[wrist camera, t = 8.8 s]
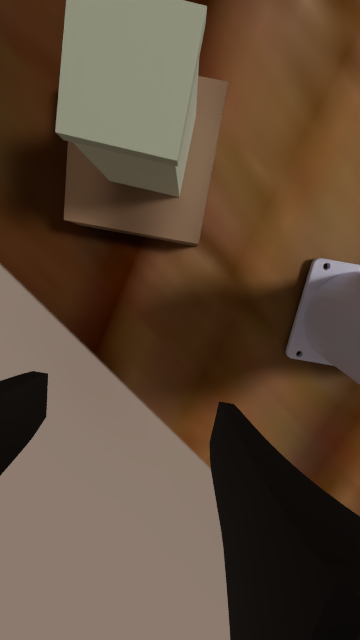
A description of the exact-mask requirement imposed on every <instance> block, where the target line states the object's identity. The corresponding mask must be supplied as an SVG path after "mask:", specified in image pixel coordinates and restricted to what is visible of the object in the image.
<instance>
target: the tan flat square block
mask: <svg viewBox="0 0 360 640" xmlns="http://www.w3.org/2000/svg"><path fill="white" fill-rule="evenodd" d="M227 87H228V82H227V81H222V80H216V79H211V78H206V77H200V76H198V86H197V105H196V118H195V123H194V128H193V133H192V138H191V143H190V147H189V152H188V157H187V162H186V167H185V172H184V177H183V182H182V187H181V192H180V197H176V196H172V195H168V194H164V193H159V192H155V191H151V190H146V189H142V188H138V187H133V186H129V185H125V184H120V183H116V182H112V181H109V180H108V179H107V178H106V177H105V176H104V175H103V174H102V172H101V171H100V170H99V169H98V168H97V167H96V166H95V165H94V164H93V163H92V162H91V161H90V160H89V159H88V158H87V157H86V156H85V155H84V154H83V153H82V152H81V151H80V149H79V148H78V147H77V146H76V145H75V144H74V143H73V142H70V141H68V150H67V169H66V187H65V205H64V220H66V221H69V222H72V223H75V224H78V225H81V226H87V227H92V228H98V229H103V230H109V231H114V232H120V233H126V234H131V235H137V236H142V237H148V238H153V239H159V240H164V241H170V242H175V243H181V244H186V245H192V246H198V244H199V239H200V233H201V228H202V222H203V217H204V212H205V206H206V201H207V195H208V190H209V184H210V179H211V174H212V168H213V163H214V157H215V152H216V147H217V141H218V136H219V130H220V125H221V119H222V114H223V109H224V103H225V98H226V92H227Z"/></svg>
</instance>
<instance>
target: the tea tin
mask: <svg viewBox="0 0 360 640" xmlns="http://www.w3.org/2000/svg"><path fill="white" fill-rule="evenodd" d="M206 13H207V6H204V5H200V4H196V3H192V2H188V1H184V0H66V11H65V22H64V34H63V46H62V58H61V70H60V82H59V94H58V106H57V117H56V129H55V132H56V133H57V134H58V135H59V136H60V137H61V138H62V139H63V140H66V141H70V142H73V143H74V144H75V145H76V146H77V147H78V148H79V149H80V151H81V152H82V153H83V154H84V155H85V156H86V157H87V158H88V159H89V160H90V161H91V162H92V163H93V164H94V165H95V166H96V167H97V168H98V169H99V170H100V171H101V172H102V174H103V175H104V176H105V177H106V178H107V179H108V180H109V181H112V182H116V183H120V184H125V185H129V186H133V187H138V188H142V189H146V190H151V191H155V192H159V193H164V194H168V195H172V196H176V197H180V192H181V187H182V182H183V177H184V172H185V167H186V162H187V157H188V152H189V147H190V143H191V138H192V133H193V128H194V123H195V118H196V105H197V86H198V68H199V55H200V50H201V45H202V40H203V34H204V29H205V24H206Z"/></svg>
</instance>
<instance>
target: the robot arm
mask: <svg viewBox="0 0 360 640" xmlns="http://www.w3.org/2000/svg"><path fill="white" fill-rule="evenodd" d="M325 263H327V268H326V269H324V268H323V265H324V264H325ZM298 351H301V353H300V354H299V355H296V353H297V352H298ZM285 353H286V355H287V356H288V357H289V358H292V359H298V360H303V361H309V362H315V363H321V364H326V365H332V366H335V367H336V368H338V369H339V370H341V371H342V372H343V373H345V374H346V375H348V376H349V377H350V378H352V379H353V380H354V381H356V382H357V383H359V384H360V265H357V264H352V263H346V262H340V261H334V260H329V259H323V258H317V259H314V260H313V261H312V263H311V266H310V269H309V273H308V276H307V280H306V283H305V286H304V290H303V293H302V297H301V300H300V303H299V307H298V310H297V313H296V317H295V320H294V324H293V327H292V330H291V334H290V337H289V341H288V344H287V347H286V352H285ZM47 385H48V374H46V373H40V372H35V371H32V372H28V373H24V374H21V375H18V376H14V377H11V378H8V379H5V380H2V381H0V475H1V474H2V473H3V472H4V470H5V469H6V468H7V467H8V466H9V465H10V464H11V463H12V461H13V460H14V459H15V458H16V457H17V456H18V454H19V453H20V452H21V451H22V450H23V448H24V447H25V446H26V445H27V444H28V442H29V441H30V440H31V439H32V437H33V436H34V434H35V433H36V432H37V430H38V428H39V427H40V425H41V424H42V422H43V421H44V419H45V418H46V408H47ZM210 462H211V472H212V478H213V484H214V490H215V496H216V502H217V508H218V514H219V520H220V525H221V532H222V540H223V546H224V558H225V571H226V582H227V596H228V608H229V609H228V610H229V623H230V639H231V640H360V516H358V515H357V514H355V513H354V512H352V511H351V510H350V509H348V508H347V507H345V506H344V505H343V504H341V503H340V502H339V501H337V500H336V499H334V498H333V497H332V496H330V495H329V494H328V493H326V492H325V491H324V490H322V489H321V488H320V487H319V486H317V485H316V484H315V483H313V482H312V481H311V480H310V479H309V478H307V477H306V476H305V475H304V474H303V473H302V472H300V471H299V470H298V469H297V468H296V467H294V466H293V465H292V464H291V463H290V462H289V461H288V460H287V459H286V458H285V457H284V456H282V455H281V454H280V453H279V452H278V451H277V450H276V449H275V448H274V447H273V446H272V445H271V444H270V443H269V442H268V441H267V440H266V439H265V438H264V437H263V436H262V435H261V433H260V432H259V431H258V430H257V429H256V428H255V427H254V426H253V425H252V424H251V422H250V421H249V420H248V419H247V418H246V417H245V416H244V415H243V414H242V412H241V411H240V410H239V409H238V408H237V407H236V406H235V405H234V404H230V403H224V402H219V405H218V409H217V413H216V418H215V422H214V426H213V430H212V435H211V439H210Z"/></svg>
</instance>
